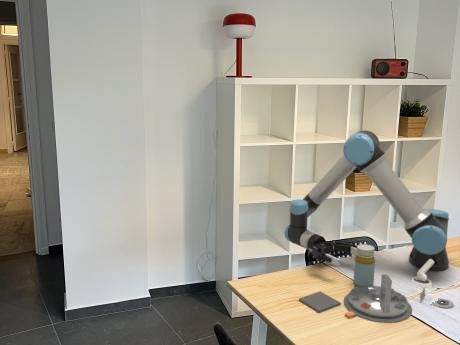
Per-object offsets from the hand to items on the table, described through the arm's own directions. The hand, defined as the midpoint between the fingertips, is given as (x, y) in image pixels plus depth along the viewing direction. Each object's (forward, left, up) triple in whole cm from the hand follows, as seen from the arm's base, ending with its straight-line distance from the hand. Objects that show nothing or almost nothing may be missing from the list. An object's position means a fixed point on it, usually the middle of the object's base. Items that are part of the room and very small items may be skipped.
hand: (351, 259), depth 169 cm
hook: (-19, +17, -9) cm, 27 cm away
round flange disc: (+8, +19, -8) cm, 22 cm away
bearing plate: (+8, +19, -8) cm, 22 cm away
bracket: (-11, +28, -9) cm, 31 cm away
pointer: (+21, +19, -8) cm, 29 cm away
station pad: (+23, +7, -8) cm, 25 cm away
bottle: (0, +6, -9) cm, 10 cm away
